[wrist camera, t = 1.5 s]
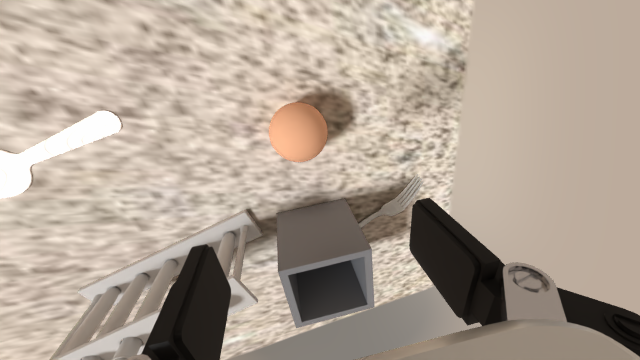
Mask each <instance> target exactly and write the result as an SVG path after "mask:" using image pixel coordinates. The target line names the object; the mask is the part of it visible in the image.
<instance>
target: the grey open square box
mask: <svg viewBox="0 0 640 360" xmlns="http://www.w3.org/2000/svg"><path fill="white" fill-rule="evenodd" d="M277 249H278V273H279V276H280V279H281V282H282V285H283V288H284V292H285V295H286V298H287V301H288V304H289V307H290V310H291V313H292V316H293V319H294V322H295V326H296V328H298V327H302V326H306V325H310V324H313V323H317V322H321V321H325V320H328V319H332V318H336V317H340V316H343V315H347V314H351V313H355V312H358V311H362V310H366V309H370V308H373V307H374V289H373V268H372V249H371V247H370V245H369V243H368V241H367V239H366V237H365V236H364V234H363V232H362V230H361V228H360V226H359V224H358V222H357V220H356V218H355V216H354V215H353V213H352V211H351V209H350V207H349V205H348V203H347V201H346V199H340V200H336V201H331V202H327V203H322V204H317V205H313V206H308V207H304V208H299V209H295V210H290V211H286V212H281V213H277Z"/></svg>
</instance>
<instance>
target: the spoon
mask: <svg viewBox="0 0 640 360" xmlns="http://www.w3.org/2000/svg"><path fill="white" fill-rule="evenodd" d="M121 127H122V124H121V121H120V119H119V118H118V116H117V115H115V114H114V113H112V112H110V111H107V110H103V111H102V110H100V111H98V112H96V113H95V114H93V115H92V116H89V117H87V118H85V119H83V120H82V121H79V122H77V123H75V124H74V125H72V126H70V127H69V128H67V129H64V130H62V131H61V132H59V133H58V134H56V135H53V136H51V137H50V138H48V139H46V140H45V141H43V142H40V143H38V144H37V145H35V146H34V147H32V148H29V149H27V150H26V151H24V152H22V153H18V154H17V153H16V154H15V153H10V152H8V151H4V150H0V198H7V197H8V198H10V197H13V196H16V195H18V194H20V193H23V192H25V191H26V190H27V188H29V187H30V185H31V183H32V172H31V167H32V165H33V164H36V163H39V162H41V161H44V160H46V159H50V158H52V157H54V156H56V155H60V154H63V153H65V152H67V151H69V150H73V149H76V148H78V147H80V146H84V145H86V144H88V143H92V142H94V141H97V140H99V139H101V138H104V137H107V136H110V135H113V134H115V133H117V132H119V131H120V130H121Z"/></svg>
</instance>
